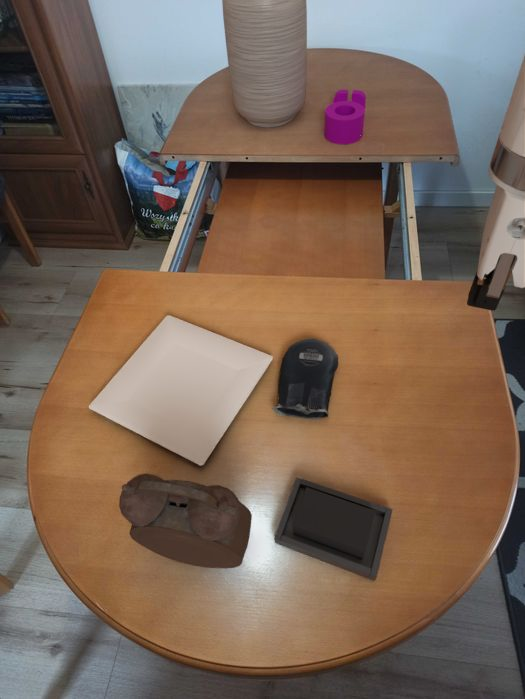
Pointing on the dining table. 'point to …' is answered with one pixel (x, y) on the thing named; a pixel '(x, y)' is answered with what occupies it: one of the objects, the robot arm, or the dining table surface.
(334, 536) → the black rectangular block
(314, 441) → the dining table surface
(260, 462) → the dining table surface
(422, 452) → the dining table surface
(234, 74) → the vase
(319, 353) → the electronic device
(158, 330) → the plate
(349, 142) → the magenta ring with prongs
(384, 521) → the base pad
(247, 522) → the alarm clock
